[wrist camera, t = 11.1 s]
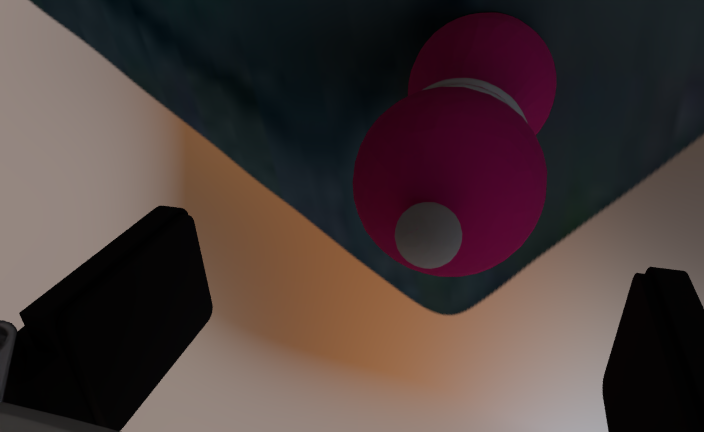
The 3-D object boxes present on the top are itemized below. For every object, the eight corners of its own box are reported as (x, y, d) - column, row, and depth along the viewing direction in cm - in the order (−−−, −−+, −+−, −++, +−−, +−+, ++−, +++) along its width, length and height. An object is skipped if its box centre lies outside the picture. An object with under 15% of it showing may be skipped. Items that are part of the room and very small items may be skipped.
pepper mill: (521, 145, 31) (503, 399, 14) (409, 106, 32) (270, 301, 15) (577, 25, 27) (644, 181, 10) (448, -15, 28) (318, 67, 11)
